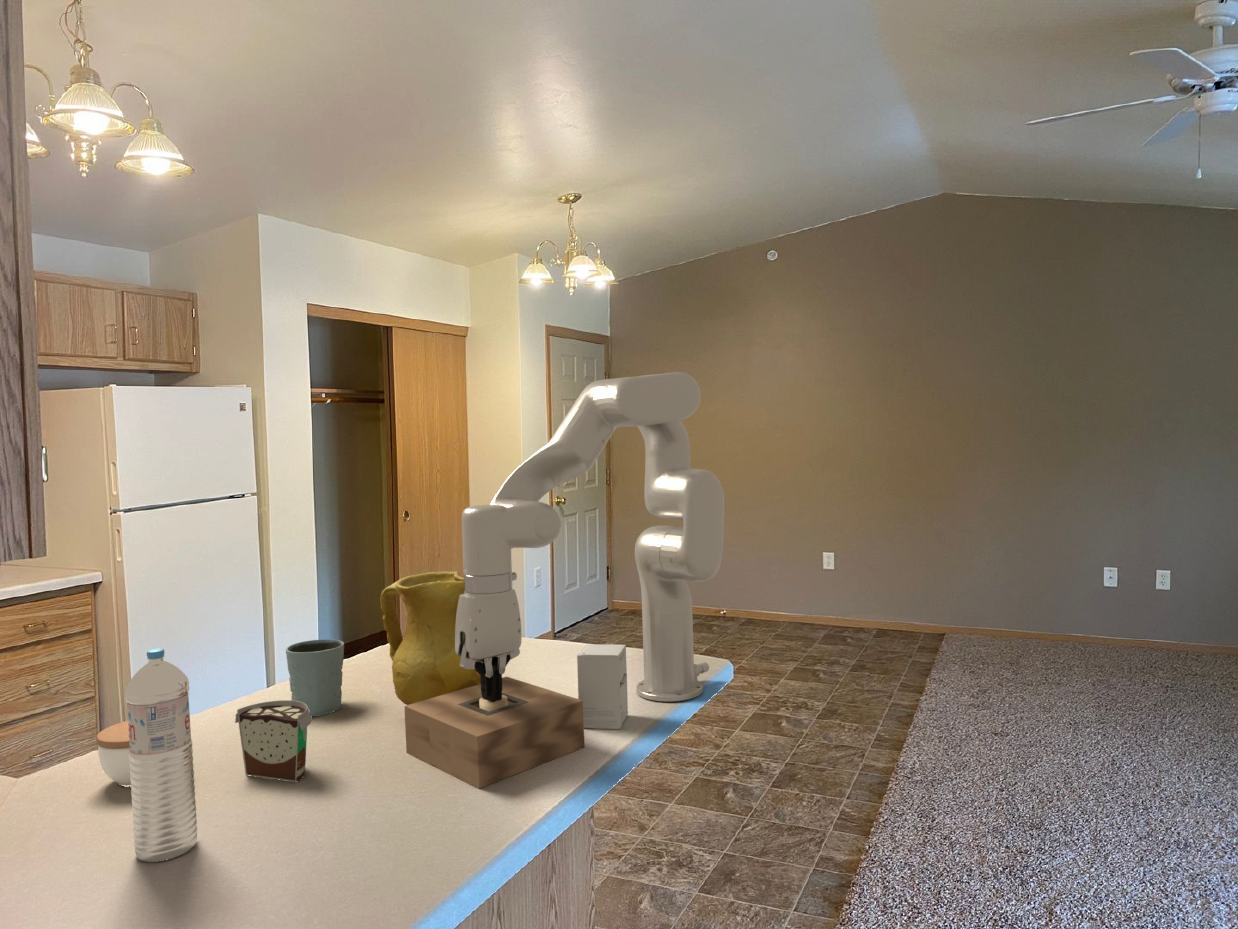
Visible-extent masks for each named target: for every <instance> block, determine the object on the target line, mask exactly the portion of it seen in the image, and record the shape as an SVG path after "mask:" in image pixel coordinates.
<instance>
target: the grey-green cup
mask: <svg viewBox="0 0 1238 929" xmlns="http://www.w3.org/2000/svg"><path fill="white" fill-rule="evenodd" d="M344 642H345V641H342V640H339V639H332V638H331V639H330V638H329V639H327V638H326V639H323V638H322V639H311V640H307V641H305V640H304V641H300V642H297V643H293V644H291V645H289V646H287V647H286V648H285V655H286V660H287V661H286V662H287V671H288V673H289V677H288V678H289V688H290V690H289V691H290V692H291V696H290V697H291V698H290V700H292V701H299V702H303V703H305V704H306V705H307V707H308V708H309V710H310V713H311V716H316V717H319V716H318V715H322V716H325V715H324V714H326V715H328V714H327V713H330V712H332V713H334V712H333V711H335V712H337V711H339V709H341V708H342V707H341V706H342V694H343V693H342V686H343V670H342V669H343V665H344V654H345V653H344V652H345V651H344V650H345V643H344ZM336 710H337V711H336ZM330 714H331V713H330Z"/></svg>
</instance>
